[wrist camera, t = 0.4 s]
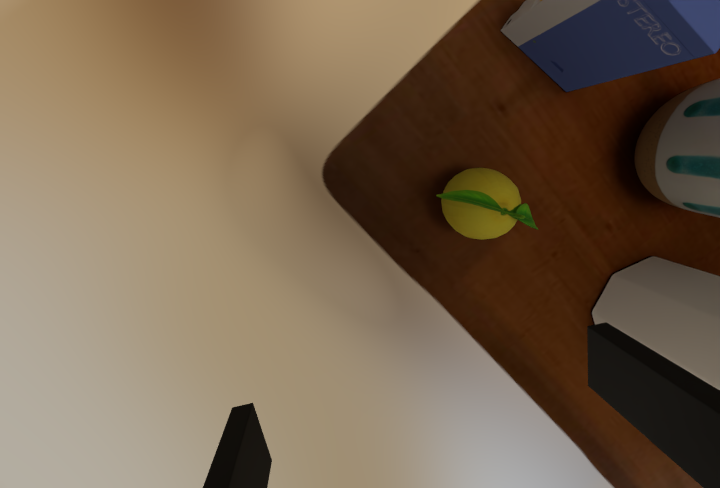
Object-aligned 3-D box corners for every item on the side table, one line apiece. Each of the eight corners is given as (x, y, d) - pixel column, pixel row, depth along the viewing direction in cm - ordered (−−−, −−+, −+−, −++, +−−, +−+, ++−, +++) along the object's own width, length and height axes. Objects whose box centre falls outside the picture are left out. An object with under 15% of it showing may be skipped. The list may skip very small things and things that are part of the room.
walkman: (587, 63, 29) (763, 3, 17) (565, 92, 29) (722, 52, 18) (521, -2, 27) (667, -119, 16) (499, 29, 28) (625, -61, 16)
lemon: (411, 186, 30) (452, 201, 20) (467, 146, 30) (536, 143, 20) (450, 246, 32) (504, 286, 22) (503, 209, 31) (582, 233, 22)
